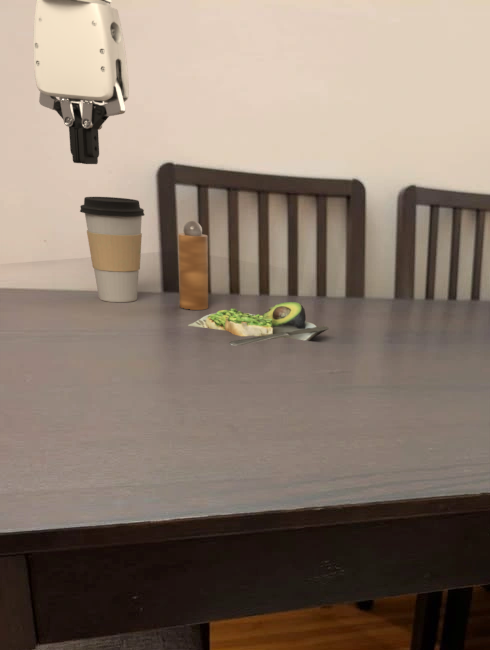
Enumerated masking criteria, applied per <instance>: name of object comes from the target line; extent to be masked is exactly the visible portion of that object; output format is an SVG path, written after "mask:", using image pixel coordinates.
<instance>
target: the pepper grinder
mask: <svg viewBox="0 0 490 650" xmlns="http://www.w3.org/2000/svg"><path fill="white" fill-rule="evenodd" d="M177 243H178V245H177V246H178V248H177V249H178V250H177V251H178V287H179V289H178V290H179V291H178V292H179V294H178V295H179V296H178V297H179V308H181V309H183V308H184V310H188V309H190V311H203V310H207V309H209V236H208V235H207V234H203V227H202V226H201V224H200V223H199V222H197V221H195V220H189V221H187V222H186V223H185V224H184V226H183V232H180V233H178V234H177Z"/></svg>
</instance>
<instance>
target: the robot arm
mask: <svg viewBox="0 0 490 650" xmlns="http://www.w3.org/2000/svg"><path fill="white" fill-rule="evenodd" d="M35 2H36V3H35V9H34V18H33V19H34V20H33V69H34V78H35V84H36V88H37V90H38V91H39V99H38V102H39V105H41V106H42V107H45V108H48V109H49V110H52V111H55V112H56V113H57V114H58V115H59V116H60V118H61V119H62V120H63V123H64V125H65V126H66V127H67V128H68V133H69V136H68V137H69V149H70V153H71V156H72V162H73V163H74V164H81V165H98V163H99V156H100V141H99V138H100V137H99V130H101V129H102V128H103V125H104V123H105V122H106V121H107V120H108V118H110V117H114V116H118V115H123V114H125V113H126V105H125V102H126V101H128V99H129V96H130V94H129V93H130V90H129V89H130V87H129V72H128V62H127V54H126V45H125V39H124V34H123V29H122V24H121V18H120V14H119V10H118V9H117V8H114V7H111V4H112V2H113V0H36V1H35ZM58 98H59V99H58Z"/></svg>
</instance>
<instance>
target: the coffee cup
mask: <svg viewBox="0 0 490 650" xmlns="http://www.w3.org/2000/svg"><path fill="white" fill-rule="evenodd" d="M79 207H80V209H79V212H80V213H83V214H84V217H85V223H86V228H87V230H86V235H87V241H88V247H89V251H90V252H89V253H90V259H91V264H92V265H91V266H92V268H93V271H94V275H95V282H96V283H95V284H96V288H97V296H98V299H100V301H103V302H109V303H131V302H132V303H133V302H135V301H137V300H138V291H139V290H138V289H139V275H140V274H139V272H140V269H141V254H142V237H143V236H142V235H143V233H142V221H143V220H142V218H143V217H144V216H145V212H144V211H145V209H144V208H142V207H141V206H140V201H139V200H138V199H132V198H125V197H113V196H112V197H111V196H85V197H84V199H83V204H81V205H80V206H79Z"/></svg>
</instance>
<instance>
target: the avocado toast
mask: <svg viewBox="0 0 490 650" xmlns="http://www.w3.org/2000/svg"><path fill="white" fill-rule="evenodd" d="M306 317H307V316H306V310H305V307H304V306H303V305H302V304H301V303H300V302H298V301H285V302H280V303H277V304H275V305H273V306H270V307H269V308H268V311H266V312H265V311H264V313H263V314H262V315H261V314H259V313H257V314H253V313H249V312H243V311H241V310H238V309H237V308H230V309H221V310H217V311H216V312H214V313H210V314H206V315H204V316H203V317H201V318H199V319H198V320H196V321H193V322H192V323H189V324H188V325H187V326H188V327H195V328H201V329H202V328H203V329H213V330H219V331H226V332H229V333H231V334H232V335H234V336H238V337H248V338H243V339H237V340H236V339H235V340H230V341H229V343H228V344H229V345H231V346H235V347H236V346H243V345H249V344H253V343H258V342H263V341H269V340H274V339H281V338H282V339H290V340H298V341H307V342H310V341H311V340H312V339H314V338H315V337H317V336H318V335H320V334H322V333H324V332H326V331H327V330H329V329H330V327H329V326H328V325H320V326H317V325H316V324H314V323H312V322H310V321H306V319H307V318H306Z"/></svg>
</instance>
